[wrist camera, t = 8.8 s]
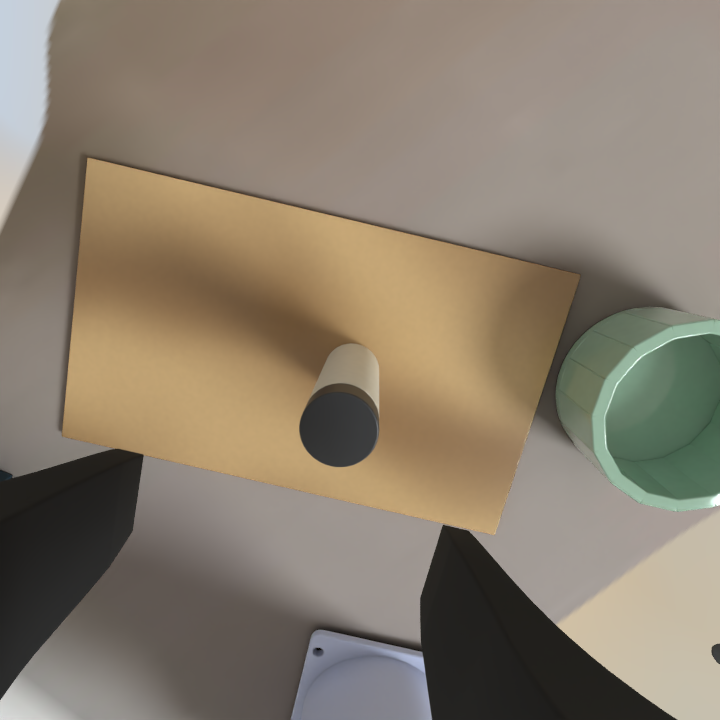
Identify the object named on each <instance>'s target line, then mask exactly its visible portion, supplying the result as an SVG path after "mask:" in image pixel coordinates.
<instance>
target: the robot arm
mask: <svg viewBox="0 0 720 720" xmlns="http://www.w3.org/2000/svg"><path fill="white" fill-rule="evenodd" d="M143 455H144V454H139V453H135V452H131V451H127V450H122V449H113V450H108V451H104V452H101V453H97V454H94V455H90V456H87V457H83V458H80V459H77V460H74V461H70V462H67V463H64V464H61V465H57V466H54V467H51V468H47V469H44V470H41V471H38V472H34V473H31V474H27V475H23V476H19V477H16V478H12V479H8V480H4V481H1V482H0V700H1V698H2V697H3V695H4V694H5V693H6V691H7V690H8V688H9V687H10V686H11V684H12V683H13V681H14V680H15V679H16V677H17V676H18V675H19V673H20V672H21V671H22V669H23V668H24V667H25V666H26V664H27V663H28V662H29V661H30V659H31V658H32V657H33V656H34V654H35V653H36V652H37V651H38V650H39V648H40V647H41V646H42V645H43V644H44V643H45V641H46V640H47V639H48V638H49V637H50V636H51V635H52V633H53V632H54V631H55V630H56V629H57V628H58V626H59V625H60V624H61V623H62V622H63V621H64V619H65V618H66V617H67V616H68V615H69V614H70V613H71V611H72V610H73V609H74V608H75V607H76V606H77V604H78V603H79V602H80V601H81V600H82V599H83V597H84V596H85V595H86V594H87V593H88V592H89V590H90V589H91V588H92V587H93V586H94V584H95V583H96V582H97V581H98V580H99V579H100V577H101V576H102V575H103V574H104V573H105V571H106V570H107V569H108V568H109V566H110V565H111V563H112V562H113V560H114V559H115V557H116V556H117V554H118V553H119V551H120V550H121V548H122V547H123V545H124V544H125V542H126V540H127V539H128V537H129V536H130V534H131V533H132V531H133V524H134V517H135V510H136V503H137V497H138V490H139V483H140V476H141V469H142V462H143ZM420 623H421V645H422V652H420V651H416V650H411V649H407V648H402V647H398V646H393V645H389V644H384V643H380V642H376V641H371V640H367V639H362V638H358V637H353V636H349V635H344V634H340V633H335V632H331V631H326V630H316V631H315V632H313V633H312V635H311V639H310V643H309V647H308V651H307V655H306V659H305V663H304V667H303V671H302V675H301V679H300V683H299V687H298V692H297V696H296V700H295V704H294V708H293V712H292V716H291V720H677V719H675V718H673V717H672V716H671V715H669V714H667V713H666V712H664V711H663V710H662V709H660V708H659V707H657V706H656V705H655V704H653V703H652V702H650V701H649V700H647V699H646V698H644V697H643V696H642V695H640V694H639V693H638V692H636V691H635V690H634V689H632V688H631V687H629V686H628V685H627V684H626V683H624V682H623V681H622V680H620V679H619V678H618V677H616V676H615V675H614V674H612V673H611V672H610V671H608V670H607V669H606V668H605V667H603V666H602V665H601V664H600V663H598V662H597V661H596V660H595V659H594V658H592V657H591V656H590V655H589V654H588V653H587V652H585V651H584V650H583V649H582V648H581V647H580V646H578V645H577V644H576V643H575V642H574V641H573V640H572V639H570V638H569V637H568V636H567V635H566V634H565V633H564V632H563V631H562V630H560V629H559V628H558V627H557V626H556V625H555V624H554V623H553V622H552V621H551V620H550V619H549V618H548V617H547V616H546V615H545V614H544V613H543V612H542V611H541V610H540V609H539V608H538V607H537V606H536V605H535V604H534V603H533V602H532V601H531V600H530V599H529V598H528V597H527V596H526V594H525V593H524V592H523V591H522V590H521V589H520V588H519V587H518V586H517V585H516V584H515V583H514V581H513V580H512V579H511V578H510V577H509V576H508V575H507V574H506V572H505V571H504V570H503V569H502V568H501V567H500V566H499V564H498V563H497V562H496V561H495V560H494V559H493V558H492V556H491V555H490V554H489V553H488V552H487V551H486V549H485V548H484V547H483V546H482V545H481V544H480V543H479V541H478V540H477V539H476V538H475V537H474V536H473V535H472V534H471V533H470V532H469V531H467V530H462V529H458V528H454V527H450V526H445V525H443V527H442V530H441V533H440V536H439V540H438V543H437V546H436V549H435V552H434V556H433V559H432V562H431V565H430V569H429V572H428V575H427V578H426V582H425V585H424V588H423V591H422V594H421V598H420ZM315 648H321V649H322V650H317V649H315Z"/></svg>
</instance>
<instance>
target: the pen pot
mask: <svg viewBox="0 0 720 720" xmlns="http://www.w3.org/2000/svg"><path fill="white" fill-rule="evenodd" d="M556 407H557V413H558V416H559V419H560V422H561V424H562V426H563V428H564V430H565V432H566V433H567V435H568V436H569V438H570V439H571V440H572V441H573V443H574V445H575V446H576V447H577V448H578V450H579V451H580V452H581V453H582V454H583V455H584V456H585V457H586V458H587V459H588V460H589V461H590V462H591V463H592V464H593V465H594V466H595V467H596V468H597V469H598V470H599V471H600V472H601V473H602V474H603V475H604V476H605V477H606V478H607V480H608V481H609V482H610V483H611V484H613V485H614V486H616V487H617V488H618V489H620V490H621V491H623V492H624V493H625V494H627V495H628V496H629V497H631V498H632V499H634V500H635V501H636V502H638V503H640V504H644V505H649V506H653V507H657V508H662V509H666V510H670V511H677V512H679V511H687V510H695V509H703V508H711V507H715V506H719V505H720V320H717V319H713V318H708V317H704V316H699V315H695V314H691V313H686V312H682V311H677V310H673V309H669V308H664V307H641V308H634V309H629V310H625V311H622V312H619V313H616V314H613V315H611V316H609V317H607V318H605V319H603V320H602V321H600V322H598V323H597V324H595V325H594V326H592V327H591V328H590V329H589V330H588V331H586V332H585V333H584V334H583V335H582V336H581V337H580V338H579V339H578V340H577V341H576V343H575V344H574V345H573V347H572V348H571V349H570V351H569V352H568V354H567V356H566V358H565V359H564V361H563V364H562V366H561V369H560V371H559V375H558V379H557V384H556Z"/></svg>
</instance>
